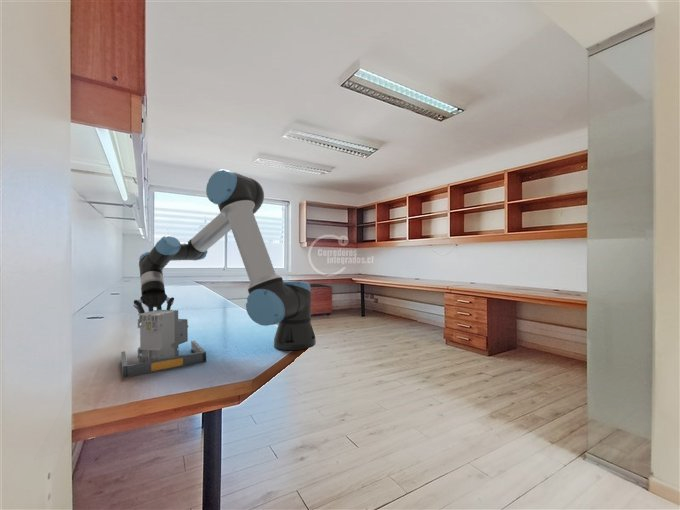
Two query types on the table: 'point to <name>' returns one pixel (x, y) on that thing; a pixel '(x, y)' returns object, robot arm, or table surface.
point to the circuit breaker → (161, 334)
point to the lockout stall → (163, 362)
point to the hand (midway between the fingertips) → (158, 339)
